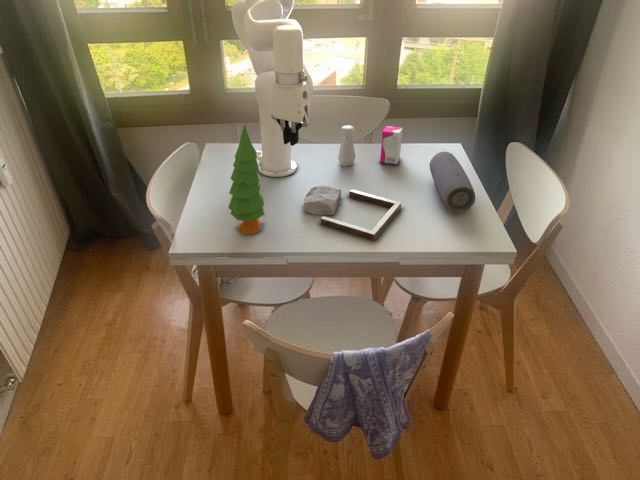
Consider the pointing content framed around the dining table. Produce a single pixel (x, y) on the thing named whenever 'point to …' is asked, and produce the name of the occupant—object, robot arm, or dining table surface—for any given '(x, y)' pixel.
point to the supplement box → (391, 145)
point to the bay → (361, 231)
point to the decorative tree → (246, 187)
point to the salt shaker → (347, 146)
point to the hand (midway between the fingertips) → (290, 142)
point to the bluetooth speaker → (452, 182)
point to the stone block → (322, 200)
